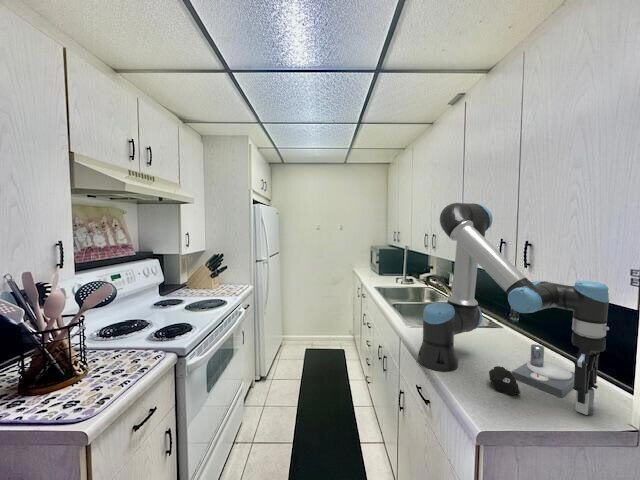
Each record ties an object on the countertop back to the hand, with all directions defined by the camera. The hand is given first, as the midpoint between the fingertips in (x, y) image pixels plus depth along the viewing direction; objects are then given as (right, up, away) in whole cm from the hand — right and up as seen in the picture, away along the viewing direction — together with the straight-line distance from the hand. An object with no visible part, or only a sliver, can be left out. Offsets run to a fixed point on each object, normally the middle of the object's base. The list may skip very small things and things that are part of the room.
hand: (583, 409), depth 90 cm
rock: (-16, 0, +13) cm, 21 cm away
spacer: (+2, +4, +22) cm, 23 cm away
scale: (+2, +1, +18) cm, 18 cm away
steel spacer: (0, 0, 0) cm, 0 cm away
